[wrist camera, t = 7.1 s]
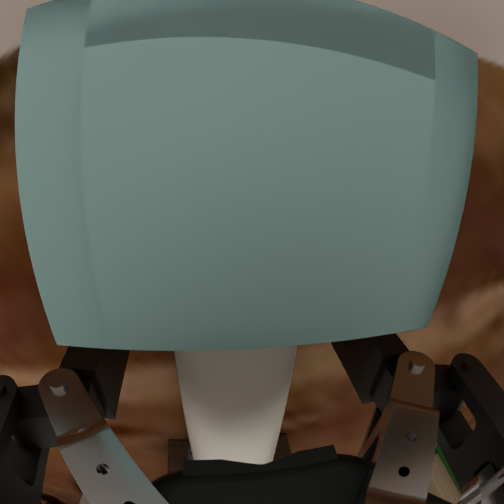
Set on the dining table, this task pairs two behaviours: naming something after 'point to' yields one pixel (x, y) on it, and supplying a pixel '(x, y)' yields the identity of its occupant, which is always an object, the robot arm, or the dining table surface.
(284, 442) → the sleeve
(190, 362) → the tube
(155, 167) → the socket
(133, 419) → the dining table surface
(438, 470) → the hardback book
